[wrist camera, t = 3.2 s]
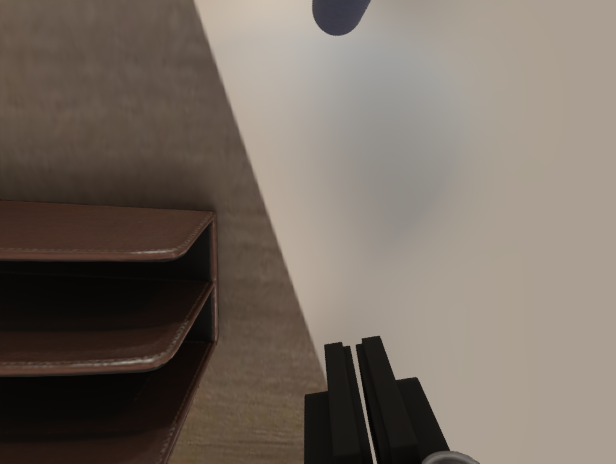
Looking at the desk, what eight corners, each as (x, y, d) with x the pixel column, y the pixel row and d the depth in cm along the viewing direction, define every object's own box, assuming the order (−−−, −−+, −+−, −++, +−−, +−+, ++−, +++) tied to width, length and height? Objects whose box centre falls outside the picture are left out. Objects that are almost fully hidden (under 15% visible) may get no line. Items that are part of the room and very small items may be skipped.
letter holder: (220, 339, 28) (142, 540, 15) (-50, 327, 28) (-384, 522, 14) (218, 209, 26) (120, 310, 12) (-83, 193, 25) (-536, 280, 12)
